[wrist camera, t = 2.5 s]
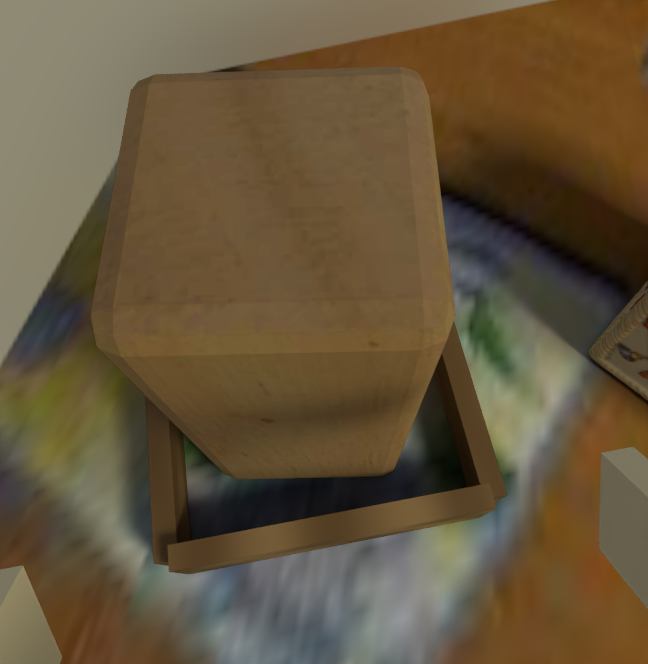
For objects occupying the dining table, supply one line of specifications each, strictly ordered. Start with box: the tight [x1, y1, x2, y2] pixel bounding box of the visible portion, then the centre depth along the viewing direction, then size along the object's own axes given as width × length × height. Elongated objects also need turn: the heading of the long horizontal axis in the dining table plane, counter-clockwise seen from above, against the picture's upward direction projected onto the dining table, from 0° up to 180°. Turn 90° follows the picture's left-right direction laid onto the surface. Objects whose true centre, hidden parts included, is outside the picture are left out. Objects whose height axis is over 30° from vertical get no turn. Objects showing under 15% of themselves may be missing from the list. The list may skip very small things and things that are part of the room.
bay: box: [145, 321, 507, 574], centre depth 35 cm, size 18×28×4 cm, turn 10°
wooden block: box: [91, 66, 455, 479], centre depth 25 cm, size 10×10×20 cm
